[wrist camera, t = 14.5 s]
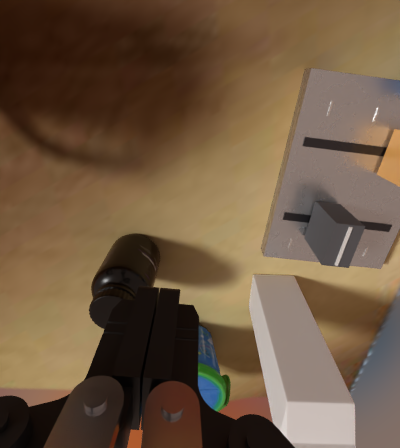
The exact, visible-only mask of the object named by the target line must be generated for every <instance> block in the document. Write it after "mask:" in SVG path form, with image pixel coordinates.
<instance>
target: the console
mask: <svg viewBox="0 0 400 448" xmlns="http://www.w3.org/2000/svg"><path fill="white" fill-rule="evenodd" d="M394 129H399V130H400V81H399V80H392V79H385V78H377V77H370V76H363V75H356V74H349V73H342V72H335V71H328V70H321V69H313V68H309V69H305V71H304V75H303V79H302V83H301V87H300V91H299V95H298V99H297V103H296V107H295V111H294V116H293V120H292V124H291V128H290V132H289V136H288V140H287V144H286V148H285V152H284V156H283V160H282V164H281V168H280V172H279V176H278V180H277V185H276V189H275V193H274V197H273V201H272V205H271V209H270V213H269V217H268V221H267V225H266V229H265V233H264V237H263V241H262V245H261V250H262V253H263V256H266V257H276V258H285V259H294V260H303V261H313V262H319V260H318V259H317V257H316V256H315V254H314V252H313V251H312V249H311V248H310V246H309V245H308V243H307V242H306V240H305V239H304V237H305V234H306V231H307V227H308V224H309V221H310V218H311V215H312V211H313V208H314V205H315V202H316V201H318V202H327V203H335V204H341V205H342V206H343V207H344V208H345V209H346V210H348V211H349V212H350V213H351V214H352V215H353V216H354V217H355V218H356V219H358V220H359V221H360V222H361V223H362V224H363V225H364V226H365V229H364V232H363V234H362V236H361V239H360V241H359V244H358V246H357V249H356V251H355V253H354V256H353V258H352V261H351V263H350V266H359V267H368V268H377V269H381V268H382V266H383V263H384V261H385V259H386V257H387V255H388V253H389V251H390V248H391V246H392V244H393V242H394V240H395V238H396V236H397V234H398V231H399V229H400V187H399V186H397V185H395V184H393V183H392V182H390V181H388V180H386V179H384V178H382V177H380V176H379V175H377V172H378V170H379V167H380V165H381V162H382V160H383V157H384V155H385V152H386V150H387V147H388V145H389V142H390V139H391V137H392V134H393V132H394Z"/></svg>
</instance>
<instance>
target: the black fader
mask: <svg viewBox="0 0 400 448" xmlns="http://www.w3.org/2000/svg"><path fill="white" fill-rule="evenodd" d="M364 229H365V226H364V225H363V224H362V223H361V222H360V221H359V220H358V219H356V218H355V217H354V216H353V215H352V214H351V213H350V212H349V211H348V210H346V209H345V208H344V207H343V206H342V205H341V204H335V203H327V202H318V201H316V202H315V205H314V208H313V211H312V215H311V218H310V221H309V224H308V227H307V231H306V234H305V237H304V239H305V240H306V242H307V243H308V245H309V246H310V248H311V249H312V251H313V252H314V254H315V256H316V257H317V259H318V260H319V262H320V263H321V265H327V266H337V267H346V268H349V266H350V263H351V261H352V258H353V256H354V253H355V251H356V249H357V246H358V244H359V241H360V239H361V236H362V234H363V232H364Z"/></svg>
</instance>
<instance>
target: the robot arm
mask: <svg viewBox="0 0 400 448" xmlns="http://www.w3.org/2000/svg"><path fill="white" fill-rule="evenodd" d="M179 297H180V289H168V288H160V293H159V288H156V287H145V286H139V287H138V290H137V293H136V297H135V300H126V299H122V300H121V301H120V302H119V303H118V304H117V305H116V306H115V307H114V308H113V309H112V311H111V314H110V317H109V319H108V323H107V324H106V327H105V330H104V333H103V335H102V337H101V340H100V343H99V345H98V348H97V350H96V353H95V356H94V358H93V361H92V363H91V366H90V369H89V371H88V374H87V376H86V378H85V379H84V381H82V382H81V383H80V384H78V385H77V386H76V387H75V388H74V389H73V391H72V392H71V393H70V394H69V395H67V396H65V397H63V398H61V399H59V400H55V401H52V402H48V403H43V404H39V405H35V406H31V407H28V405H27V403H26V402H25V401H24V400H23V399H21V398H19V397H16V396H3V397H0V448H127V445H128V440H129V435H130V430H131V429H133V430H139V425H140V421H141V415H142V421H141V430H143V434H142V445H141V448H295V447H294V446H293V445H292V444H291V443H290V441H289V440H288V439H287V438H286V437H285V436H284V435H283V434H282V432H281V431H280V430H279V429H278V428H277V427H276V426H275V425H274V424H273V423H272V422H270V421H269V420H268V419H266V418H264V417H262V416H259V415H254V414H253V415H252V414H249V415H244V416H242V417H240V418H238V419H237V420H235V419H232V418H230V417H228V416H226V415H223V414H221V413H219V412H217V411H215V410H214V409H212V408H211V407H210V406H209V405H208V404H207V403H206V402H205V401H204V399H203V398H202V396H201V394H200V391H199V387H198V345H199V342H198V340H199V316H198V314H197V312H196V310H195V308H194V306H193V305H184V304H179Z"/></svg>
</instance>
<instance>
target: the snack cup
mask: <svg viewBox="0 0 400 448" xmlns="http://www.w3.org/2000/svg"><path fill="white" fill-rule="evenodd" d="M198 342H199V345H198V387H199V391H200V394H201V396H202V398H203V399H204V401H205V402H206V403H207V404H208V405H209V406H210V407H211V408H212V409H214V410H215V411H217V412H218V411H220V410H221V409H223V408H224V407H225V406H227V404H228V402H229V397H230V379H229V377H228V376H227V375H223V376H221V375H220V370H219V366H218V361H217V358H216V353H215V348H214V344H213V341H212V337H211V334H210V332H208V331H207V330H206V328H204V327H202V326H199V340H198Z"/></svg>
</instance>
